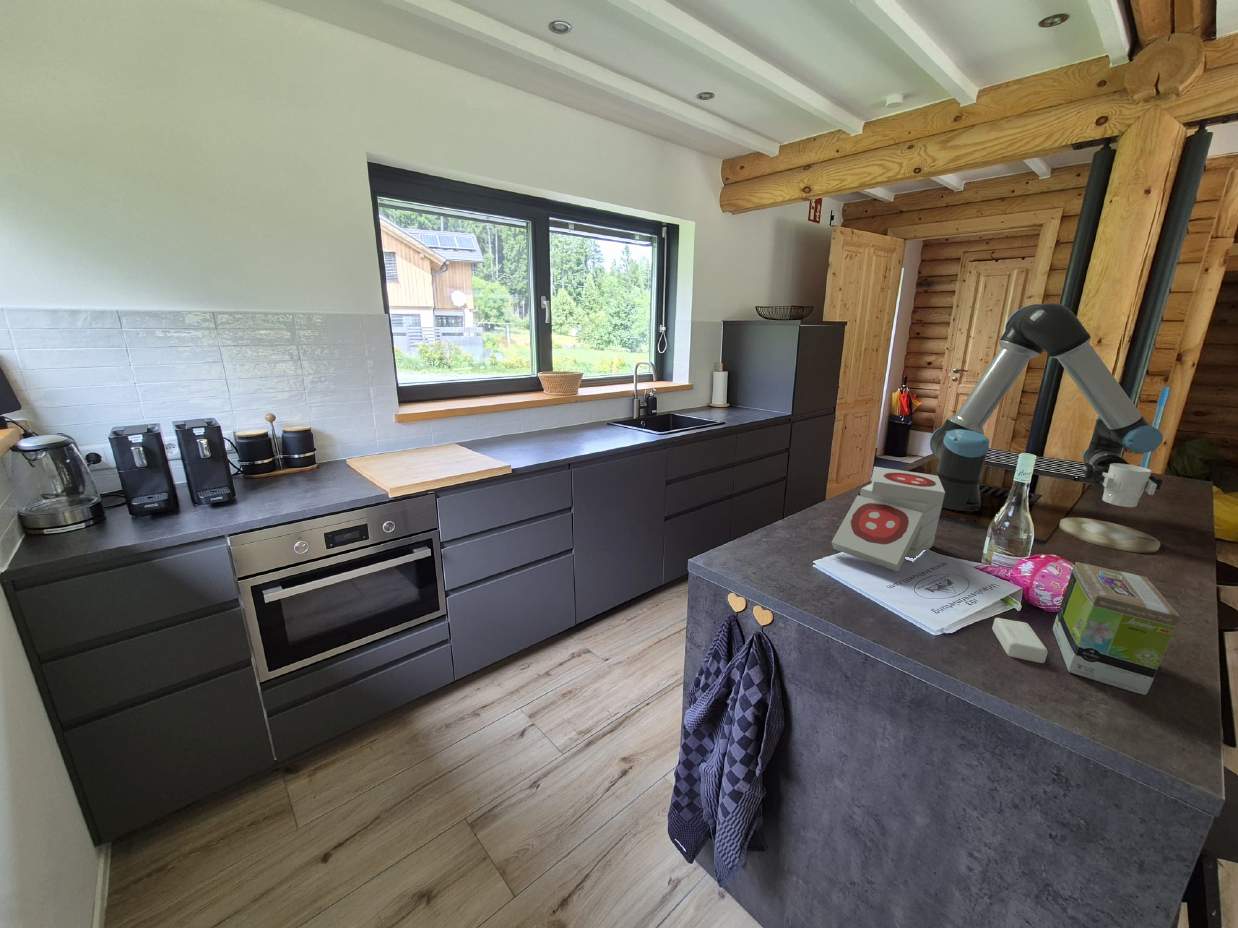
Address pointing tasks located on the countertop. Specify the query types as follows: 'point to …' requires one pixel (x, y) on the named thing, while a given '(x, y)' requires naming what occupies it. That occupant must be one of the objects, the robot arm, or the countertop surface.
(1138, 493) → the white cup
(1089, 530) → the turntable platter
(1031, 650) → the soap
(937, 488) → the pizza boxes
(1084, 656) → the tea box
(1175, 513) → the countertop surface
